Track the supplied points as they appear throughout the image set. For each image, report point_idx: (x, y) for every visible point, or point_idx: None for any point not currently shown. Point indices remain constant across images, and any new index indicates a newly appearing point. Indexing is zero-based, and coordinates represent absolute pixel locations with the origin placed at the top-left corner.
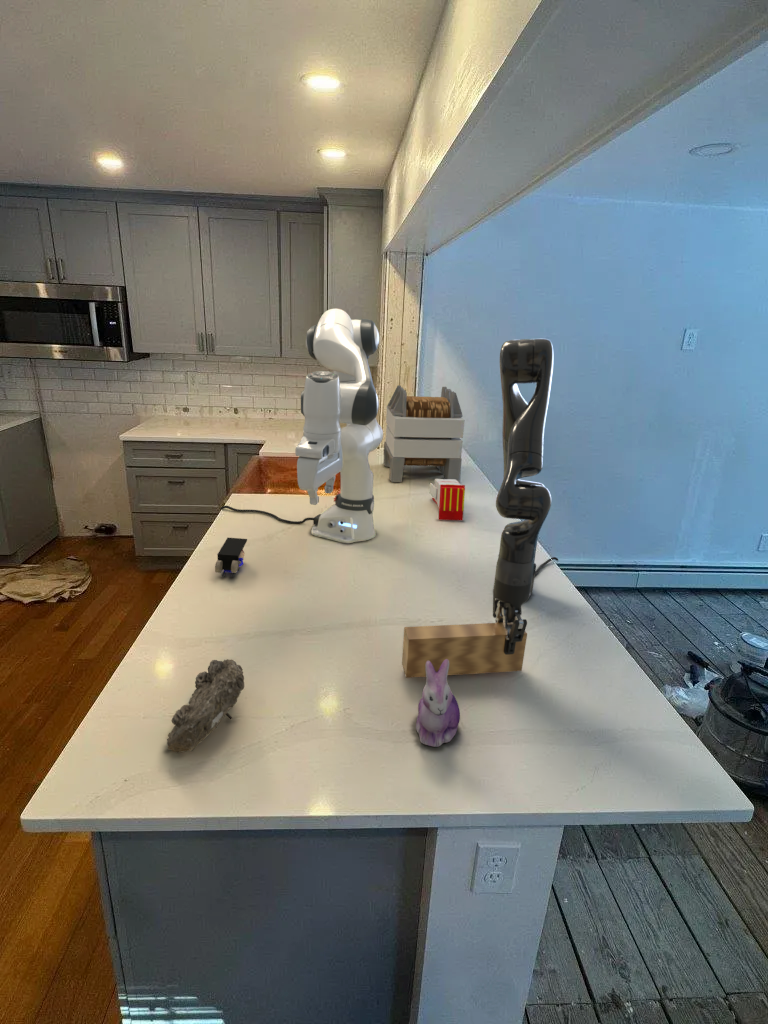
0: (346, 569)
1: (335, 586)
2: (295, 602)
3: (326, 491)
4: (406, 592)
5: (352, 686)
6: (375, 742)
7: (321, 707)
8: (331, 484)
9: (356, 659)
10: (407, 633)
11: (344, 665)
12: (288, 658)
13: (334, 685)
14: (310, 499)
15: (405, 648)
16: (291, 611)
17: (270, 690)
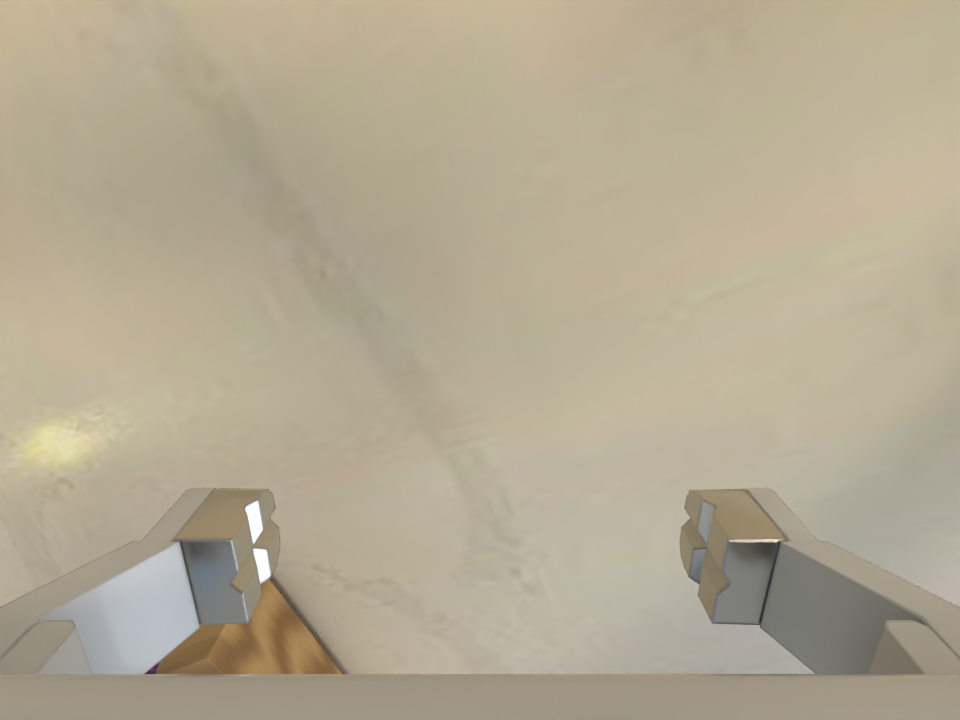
0: (819, 232)
1: (656, 243)
2: (485, 142)
3: (695, 516)
4: (672, 479)
5: (146, 471)
6: (14, 559)
7: (36, 433)
8: (785, 628)
9: (254, 448)
10: (179, 670)
11: (213, 429)
12: (160, 275)
13: (125, 433)
14: (161, 529)
15: (203, 626)
16: (417, 158)
17: (10, 292)
